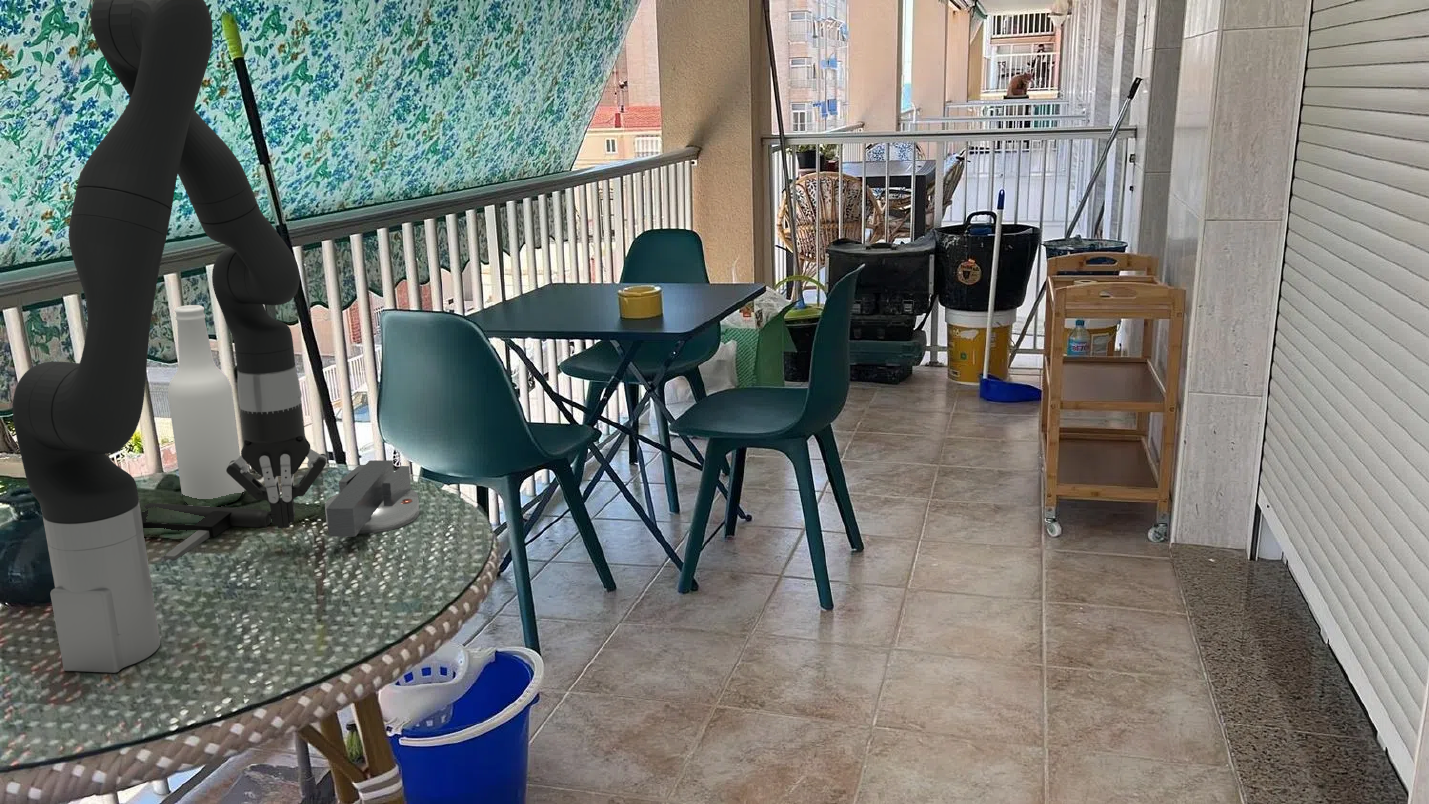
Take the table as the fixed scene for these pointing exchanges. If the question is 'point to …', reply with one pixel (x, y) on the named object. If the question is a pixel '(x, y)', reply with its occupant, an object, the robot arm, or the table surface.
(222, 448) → the alcohol
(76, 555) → the robot arm
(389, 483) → the slotted disc stand
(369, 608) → the table surface
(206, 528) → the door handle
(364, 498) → the bar
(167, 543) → the table surface
